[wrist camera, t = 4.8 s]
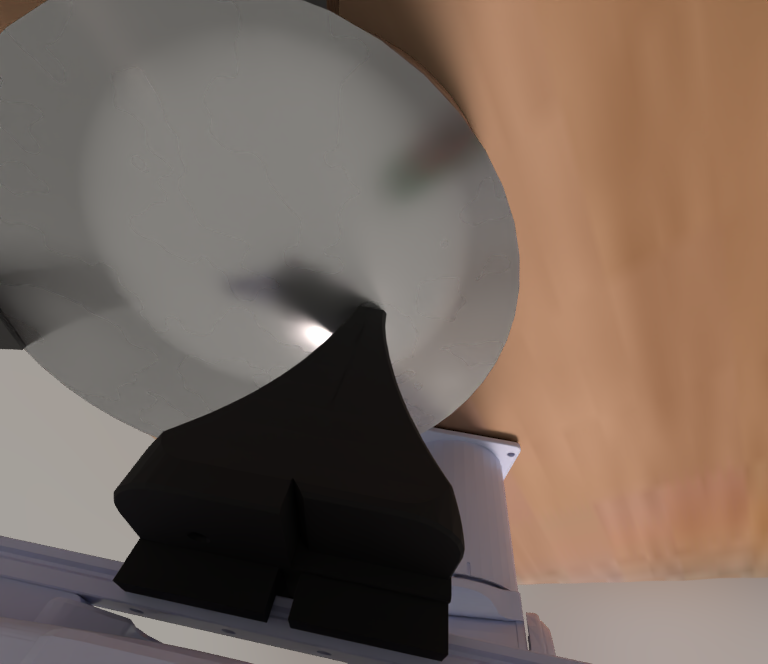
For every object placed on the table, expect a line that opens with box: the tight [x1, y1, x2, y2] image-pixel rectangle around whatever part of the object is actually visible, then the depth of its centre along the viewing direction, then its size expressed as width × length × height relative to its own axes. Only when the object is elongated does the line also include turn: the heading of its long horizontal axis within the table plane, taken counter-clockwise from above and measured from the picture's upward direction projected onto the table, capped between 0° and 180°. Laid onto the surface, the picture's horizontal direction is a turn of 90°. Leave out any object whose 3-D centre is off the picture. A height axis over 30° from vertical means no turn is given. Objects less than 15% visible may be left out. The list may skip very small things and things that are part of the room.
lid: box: [0, 0, 519, 438], centre depth 11 cm, size 16×21×1 cm
